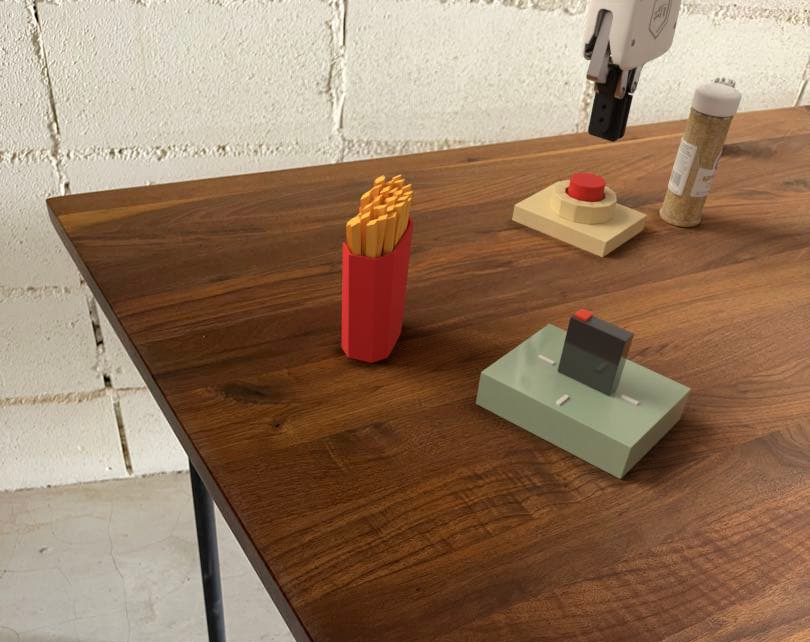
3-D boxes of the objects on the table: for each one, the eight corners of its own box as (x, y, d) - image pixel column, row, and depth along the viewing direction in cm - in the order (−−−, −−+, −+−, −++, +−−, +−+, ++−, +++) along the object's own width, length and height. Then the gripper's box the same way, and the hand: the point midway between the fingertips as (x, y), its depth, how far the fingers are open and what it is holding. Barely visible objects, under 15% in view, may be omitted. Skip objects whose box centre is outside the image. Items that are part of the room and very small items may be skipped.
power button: (608, 197, 92) (612, 180, 91) (591, 207, 90) (595, 190, 89) (578, 186, 93) (582, 169, 92) (560, 195, 91) (564, 179, 90)
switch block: (643, 230, 94) (652, 198, 92) (602, 257, 89) (610, 224, 87) (555, 195, 99) (562, 164, 96) (511, 220, 93) (517, 187, 91)
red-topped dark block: (617, 388, 67) (635, 330, 64) (609, 396, 66) (626, 338, 63) (565, 363, 69) (580, 306, 66) (556, 371, 68) (570, 313, 65)
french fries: (363, 309, 78) (371, 161, 69) (409, 319, 78) (424, 171, 68) (329, 364, 72) (333, 208, 63) (380, 375, 71) (391, 220, 62)
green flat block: (679, 419, 70) (692, 386, 68) (620, 479, 64) (631, 445, 62) (542, 354, 75) (549, 321, 73) (475, 403, 70) (481, 370, 67)
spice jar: (701, 231, 95) (745, 99, 86) (658, 225, 95) (698, 93, 86) (697, 213, 98) (740, 84, 89) (656, 207, 99) (694, 78, 89)
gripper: (652, -71, 68) (601, 168, 81) (730, -91, 77) (673, 127, 90) (568, -88, 71) (532, 145, 84) (652, -106, 80) (608, 108, 93)
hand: (605, 135), depth 87 cm, fingers closed
